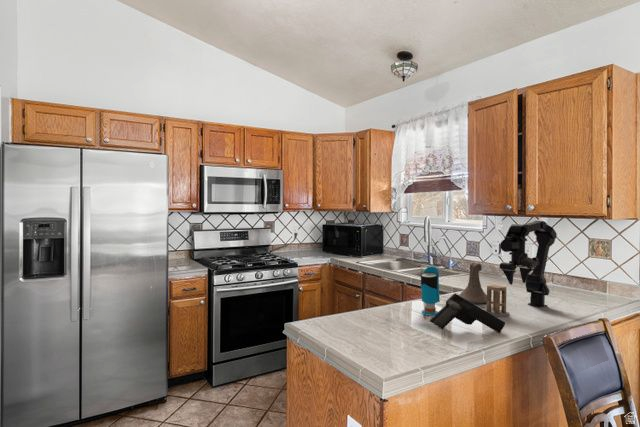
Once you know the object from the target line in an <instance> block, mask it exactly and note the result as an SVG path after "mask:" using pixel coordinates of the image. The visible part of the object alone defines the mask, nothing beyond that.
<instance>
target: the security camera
mask: <svg viewBox="0 0 640 427" xmlns="http://www.w3.org/2000/svg"><path fill="white" fill-rule="evenodd" d="M439 272H440V271H439V268H438V267H435V266H427V267H426V268H425V270H424V271H423V272H422V273H421V274H420V289H421V292H420V293H421V301H422V303H425V306H424V309H422V310H421V314H423V315H427V316H435V315H436V314H437V313H438V312H439V311H437V308H436V304H437V303H440V300H441V298H440V280H439V278H440V274H439Z"/></svg>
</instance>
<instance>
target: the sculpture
mask: <svg viewBox="0 0 640 427" xmlns="http://www.w3.org/2000/svg"><path fill="white" fill-rule="evenodd" d="M482 270H483V268H482V264H481V263H478V262H475V261H474V262H471V264H470V266H469V278H468V283H467V286H466V287H465V288H464V289H463V290H462V291H461V292H460V294H458V295H459V296H461V297H462V298H464V299H466V300H468V301H469V302H471V303H473V304H475V305H481V304H482V305H483V304H487V293H486V292H485V291H484V290H483V288H482V284H481V281H480V276H479V272H480V271H482Z"/></svg>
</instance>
